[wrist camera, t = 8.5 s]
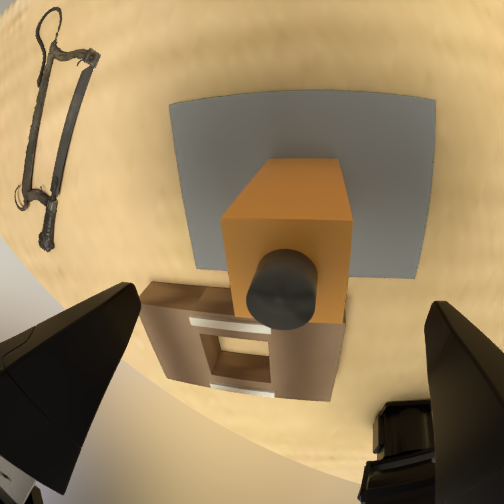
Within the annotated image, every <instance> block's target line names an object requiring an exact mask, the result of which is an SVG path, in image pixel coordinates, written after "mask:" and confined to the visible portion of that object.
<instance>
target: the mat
mask: <svg viewBox="0 0 504 504" xmlns="http://www.w3.org/2000/svg"><path fill="white" fill-rule="evenodd" d="M169 110H170V118H171V125H172V133H173V140H174V147H175V153H176V160H177V166H178V172H179V179H180V185H181V191H182V196H183V202H184V208H185V213H186V219H187V224H188V229H189V234H190V239H191V244H192V249H193V254H194V259H195V264H196V269H206V270H222V271H228V269H227V262H226V255H225V249H224V242H223V235H222V228H221V221H220V218H221V217H222V215H223V214H224V213H225V212H226V210H227V209H228V208H229V207H230V205H231V204H232V203H233V202H234V201H235V199H236V198H237V197H238V196H239V194H240V193H241V192H242V191H243V190H244V188H245V187H246V186H247V185H248V184H249V182H250V181H251V180H252V179H253V178H254V176H255V175H256V174H257V173H258V172H259V170H260V169H261V168H262V167H263V166H264V165H265V163H266V162H267V161H268V160H269V159H276V158H329V159H338V160H339V164H340V168H341V171H342V175H343V179H344V183H345V187H346V191H347V195H348V200H349V204H350V209H351V213H352V218H353V231H352V244H351V256H350V266H349V276H348V277H371V278H405V279H415V276H416V272H417V268H418V263H419V259H420V254H421V249H422V244H423V239H424V233H425V228H426V222H427V215H428V209H429V202H430V194H431V185H432V175H433V164H434V149H435V122H436V102H435V100H432V99H426V98H419V97H412V96H405V95H396V94H386V93H375V92H361V91H338V90H297V91H273V92H259V93H247V94H237V95H228V96H220V97H212V98H205V99H199V100H193V101H187V102H181V103H176V104H170V105H169Z"/></svg>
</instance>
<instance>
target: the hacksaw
mask: <svg viewBox="0 0 504 504" xmlns="http://www.w3.org/2000/svg"><path fill="white" fill-rule="evenodd" d="M55 10H57V11H58V12H59V15H60V21H59V22H60V24H59V26H58V32H59V30H60V26H61V22H62V12H61V9H60V8H59V7H53V8H52V9H50V10H49V11H48V12H46V13H45V15H44V16H43V17H42V19H41V20H40V22H39V23H38V26H37V28H36V39H37V41H38V43H39V45H40V47H41V49H42V52H43V62H42V67H41V71H40V75H39V77H38V80H37V85H38V87H39V86H40V87H39V92H38V96H37V100H36V102H37V104H36V106H35V111H34V115H33V120H32V125H31V129H30V134H29V143H28V146H27V151H26V159H25V165H24V173H23V180H22V194H23V197H24V201H23V202H24V207H23V208H20V207H19V206H18V204H17V202H16V190H17V189H18V187H19V186H18V187H17V188H16V190H15V203H16V205H17V207H18V209H19V210H21V211H25V210H26V208H27V205H28V203H29V201H30V202H31V201H33V200H38V201H40V202H41V203H42V204H43V205H45V206H46V213H45V218H44V224H43V229H42V232H41V233H40V234H39V240H38V242H39V246H40V247H41V248H42V249H44V251H45V250H46V251H47V252H50V251H51V249H53V248H54V243H53V229H54V222H55V213H56V211H57V210H56V207H57V200H56V199H55V197H56V196H57V197H58V192H59V186H60V182H61V176H62V172H63V166H64V162H65V158H66V153H67V149H68V145H69V142H70V138H71V134H72V131H73V127H74V124H75V120H76V117H77V113H78V111H79V108H80V104H81V101H82V99H83V96H84V93H85V89H86V87H87V84H88V82H89V79H90V77H91V74H92V72H93V69H94V68H96V65H97V63H98V61H99V59H100V56H101V55H99V53H97V52H96V51H94V50H93V49H91V48H90V49H89V50H88V51H87V50H85V49H79V50H75V51H72V52H63V51H62V50H60V48H58V47H57V45H56V44H57V42H56V40H57V39H56V38H57V36H58V32H57V33H56V38H55V40H54V41H53V42H52V43H51V46H50V49H49V53H48V58H47V64H46V66H45V62H46V51H45V48H44V45H43V42H42V40H41V39H40V36H39V29H40V26H41V23H42V21H43V20H44V18H45V17H46V16H47V15H48V14H49V13H50V12H52V11H55ZM76 57H78V58H77V59H81V58H82V60H83V61H84V62H86V63H88V64H90V66H89V67H87V68H86V69H84V70H83V71H82V73H81V75H80V78H79V81H78V83H77V86H76V89H75V92H74V95H73V98H72V101H71V104H70V107H69V111H68V114H67V117H66V121H65V124H64V128H63V132H62V136H61V140H60V144H59V148H58V152H57V157H56V162H55V167H54V172H53V177H52V183H51V189H50V191H51V192H52V195H51V197H48V196H46V195H45V194H43V191H42V192H40V191H38V190H31V177H32V169H33V162H34V155H35V153H34V152H35V147H36V140H37V135H38V131H39V125H40V119H41V115H42V110H43V106H44V101H45V97H46V92H47V87H48V82H49V77H50V72H51V68H52V64H53V60H54V59H57V60H59V61H68V60H71V59H72V58H76ZM82 60H80V61H79V62H78V63H77V66H78V64H79V63H80V62H81V61H82ZM44 67H45V68H44ZM43 71H44V73H43ZM40 187H41V186H40ZM41 190H42V187H41Z"/></svg>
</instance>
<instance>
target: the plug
mask: <svg viewBox="0 0 504 504" xmlns="http://www.w3.org/2000/svg"><path fill="white" fill-rule="evenodd" d="M220 221H221V228H222V235H223V242H224V249H225V255H226V262H227V269H228V275H229V281H230V288H231V294H232V300H233V307H234V313H235V317H244V318H254V319H255V320H257V321H258V322H259V323H261V324H262V325H264V326H266V327H269V328H272V329H276V330H292V329H296V328H299V327H301V326H303V325H305V324H306V323H308V322H311V323H332V324H342V323H343V316H344V309H345V301H346V293H347V285H348V276H349V266H350V256H351V244H352V231H353V218H352V213H351V209H350V204H349V200H348V195H347V191H346V187H345V183H344V179H343V175H342V171H341V168H340V164H339V160H338V159H329V158H276V159H269V160H268V161H267V162H266V163H265V165H264V166H263V167H262V168H261V169H260V170H259V172H258V173H257V174H256V175H255V176H254V178H253V179H252V180H251V181H250V182H249V184H248V185H247V186H246V187H245V188H244V190H243V191H242V192H241V193H240V194H239V196H238V197H237V198H236V199H235V201H234V202H233V203H232V204H231V205H230V207H229V208H228V209H227V210H226V212H225V213H224V214H223V215H222V217H221V218H220Z"/></svg>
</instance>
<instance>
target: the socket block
mask: <svg viewBox="0 0 504 504" xmlns="http://www.w3.org/2000/svg"><path fill="white" fill-rule="evenodd" d="M139 298H140V301H141V311H140V314H139V316H140V318H141V321H142V323H143V326H144V328H145V331H146V333H147V335H148V338H149V340H150V342H151V345H152V347H153V349H154V351H155V354H156V356H157V358H158V360H159V362H160V364H161V367H162V369H163V371H164V373H165V375H166V377H167V378H168V379H172V380H176V381H181V382H185V383H190V384H194V385H199V386H204V387H209V388H212V389H218V390H223V391H229V392H235V393H242V394H249V395H256V396H263V397H272V398H275V397H276V398H286V399H297V400H310V401H327V402H330V400H331V396H332V391H333V387H334V382H335V377H336V373H337V368H338V363H339V358H340V352H341V347H342V341H343V336H344V330H345V324H346V319H345V309H344V316H343V323H342V324H332V323H311V322H308V323H306V324H305V325H303V326H301V327H299V328H296V329H292V330H276V329H272V328H269V327H266V326H264V325H262V324H261V323H259V322H258V321H257V320H255V319H254V318H244V317H235V313H234V307H233V300H232V294H231V289H227V288H214V287H202V286H191V285H180V284H170V283H159V282H151V283H150V284H149V285H148V286H147V288H146V289H145V290H144V291H143V293H142V294H141V295H140V296H139ZM218 336H223V337H231V338H239V339H248V340H257V341H268V345H269V357H265V356H256V355H247V354H239V353H231V352H224V351H221V348H220V344H219V340H218Z"/></svg>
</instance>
